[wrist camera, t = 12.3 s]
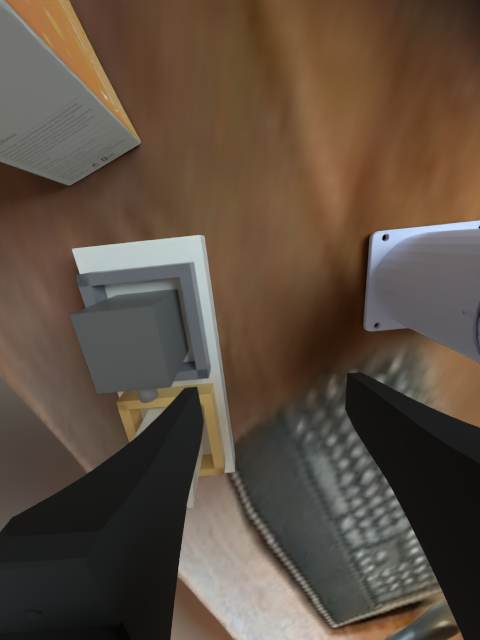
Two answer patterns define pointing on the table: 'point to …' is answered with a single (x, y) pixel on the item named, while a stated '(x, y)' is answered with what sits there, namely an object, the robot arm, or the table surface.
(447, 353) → the table surface
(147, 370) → the twin plug
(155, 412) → the plug
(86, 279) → the white base platform
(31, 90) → the small box
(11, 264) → the table surface
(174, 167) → the table surface
